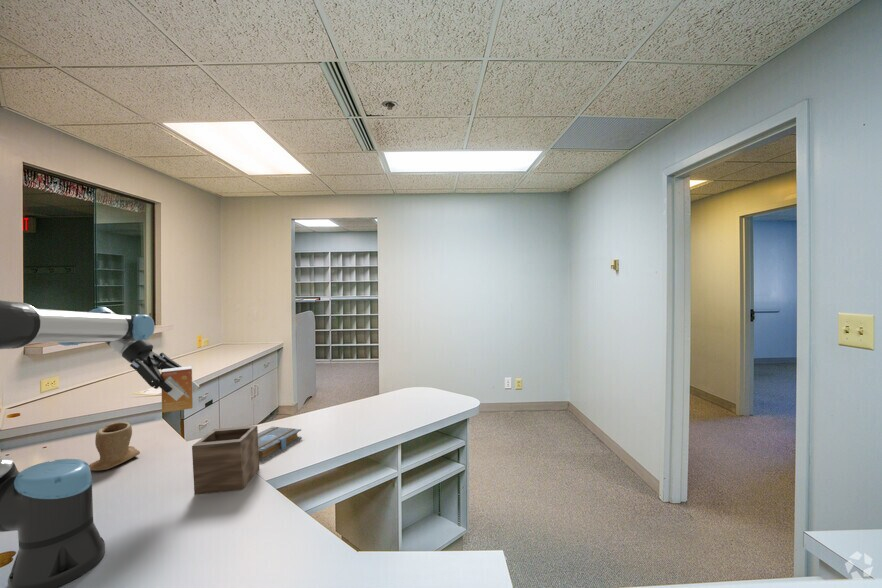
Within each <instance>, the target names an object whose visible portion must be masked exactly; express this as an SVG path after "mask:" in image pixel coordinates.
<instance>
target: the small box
mask: <svg viewBox="0 0 882 588" xmlns="http://www.w3.org/2000/svg"><path fill="white" fill-rule="evenodd" d="M160 373H161V375H162V376H163V378H164V380H165V381H166V380H168V381H169V382H171V383H172V384H173V385H174V386H175V387H177V388H178V389H179V390H180V391H181V392H183V393H184V394H183V395H182V396H181V397H180V398H179V399H178V400H177V401H176V400H175V399H173V398H172V397H171V396H170V395H169V394H167V393H166V392H165V391H164V390H163V389H161V414H163V413H170V412H177V411H184V410H191V409H193V406H194V403H193V401H194V400H193V399H194V398H193V393H194V392H193V390H192V380H193V365H189V366H182V367H177V368H169V369H162V370H161V372H160ZM165 381H164V382H165Z"/></svg>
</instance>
